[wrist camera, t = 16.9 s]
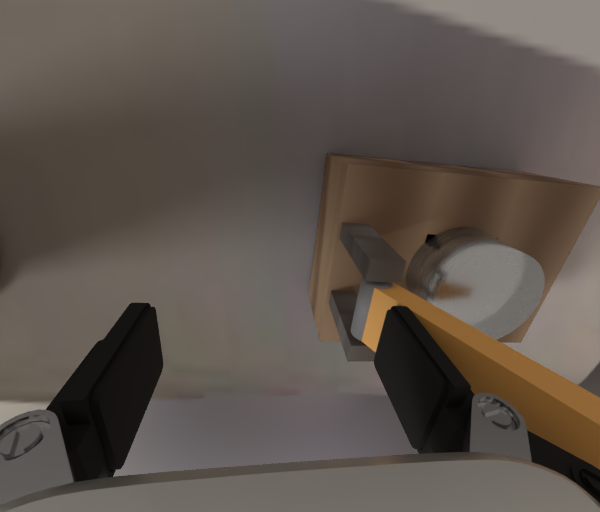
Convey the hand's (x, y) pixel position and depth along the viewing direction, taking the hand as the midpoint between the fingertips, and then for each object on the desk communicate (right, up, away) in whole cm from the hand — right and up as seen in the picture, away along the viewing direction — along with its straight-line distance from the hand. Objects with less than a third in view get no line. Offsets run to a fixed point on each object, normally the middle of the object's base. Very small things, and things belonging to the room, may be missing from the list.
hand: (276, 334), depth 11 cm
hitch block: (+10, +5, +13) cm, 17 cm away
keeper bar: (+7, -1, 0) cm, 7 cm away
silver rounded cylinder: (+10, +4, +12) cm, 16 cm away
